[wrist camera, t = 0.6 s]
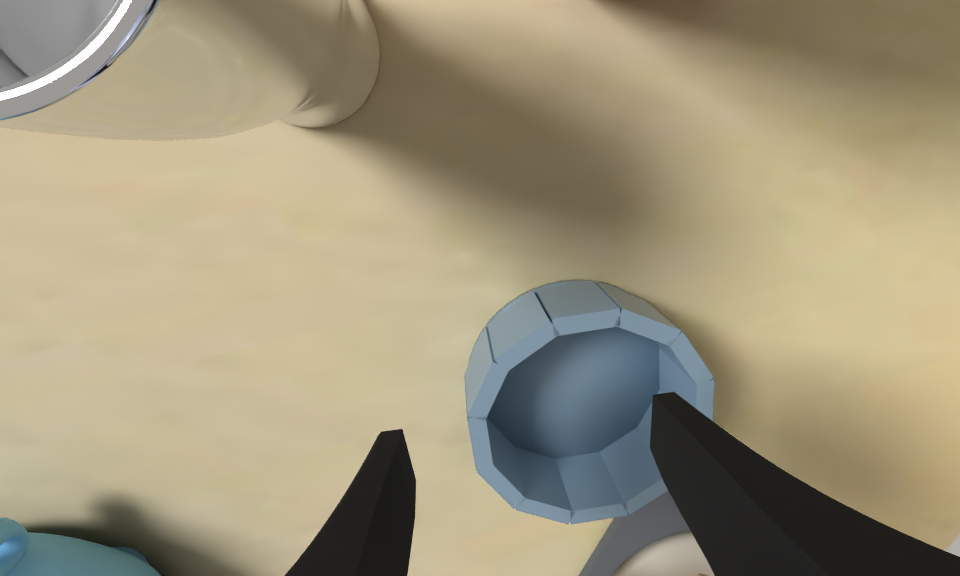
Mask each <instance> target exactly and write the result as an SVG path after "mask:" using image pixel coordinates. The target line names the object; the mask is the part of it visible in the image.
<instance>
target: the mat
mask: <svg viewBox="0 0 960 576" xmlns="http://www.w3.org/2000/svg"><path fill="white" fill-rule="evenodd" d="M689 530H690V529H689V527H688V525H687V524H686V522H685V520H684V518H683V516H682V515H681V513H680V511H679V509H678V507H677V506H676V504H675V502H674V500H673V498H672V496H671V495H670V493H669V491H667V492H665V493H663V494H662V495H660V496H659V497H657V498H655V499H654V500H652V501H651V502H649V503H647V504H646V505H644V506H643V507H641V508H639V509H638V510H636V511H635V512H633V513H631V514H630V513H629V512H628V511H627V515H626V516H620V517H615V518H614V520H613V521H612V523H611V525H610V526H609V528H608V529H607V531H606V533H605V534H604V536H603V538H602V539H601V541H600V542H599V544H598V546H597V547H596V549H595V550H594V552H593V554H592V555H591V557H590V559H589V560H588V562H587V563H586V565H585V567H584V568H583V570H582V572H581V573H580V575H579V576H612V574H613V573H614V572H615V570H616V569H617V568H618V567H619V566H620V565H621V564H622V563H623V562H624V561H625V560H627V559H628V558H629V557H630V556H631V555H633V554H634V553H636V552H637V551H639V550H640V549H641V548H643V547H645V546H647V545H649V544H651V543H652V542H654V541H657V540H659V539H662V538H664V537H667V536H670V535H673V534H676V533H680V532H685V531H689Z"/></svg>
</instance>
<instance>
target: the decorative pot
mask: <svg viewBox="0 0 960 576" xmlns="http://www.w3.org/2000/svg"><path fill="white" fill-rule="evenodd" d="M0 576H161V575H160V574H159V573H158V572H157V571H156V570H155V569H154V568H153V567H151V566H150V565H149V564H148V561H147V559H146V558H145V557H144V556H143V555H142V554H141V553H140V552H138V551H136V550H134V549H131V548H127V547H114V548H111V547H108V546H105V545H101V544H98V543H94V542H90V541H86V540H82V539H78V538H72V537H67V536H62V535H54V534H46V533H32V532H27V530H26V529H25V528H24V527H23V526H22V525H21V524H20V523H18V522H16V521H14V520H11V519H9V518H0Z"/></svg>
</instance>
